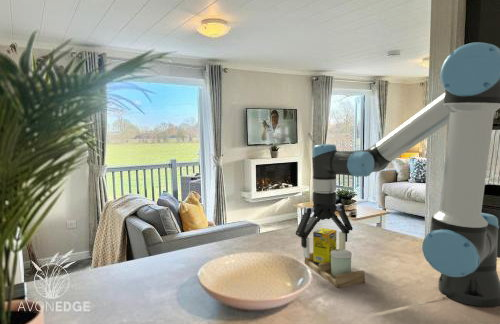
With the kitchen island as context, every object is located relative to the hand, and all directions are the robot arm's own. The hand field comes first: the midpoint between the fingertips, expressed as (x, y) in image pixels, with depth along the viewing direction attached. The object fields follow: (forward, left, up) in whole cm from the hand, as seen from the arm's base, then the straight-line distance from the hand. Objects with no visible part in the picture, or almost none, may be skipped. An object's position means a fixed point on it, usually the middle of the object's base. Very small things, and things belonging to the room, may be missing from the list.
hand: (324, 254), depth 112 cm
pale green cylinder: (-10, 0, -4) cm, 10 cm away
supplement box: (0, 0, -3) cm, 3 cm away
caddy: (-5, 0, -5) cm, 7 cm away
